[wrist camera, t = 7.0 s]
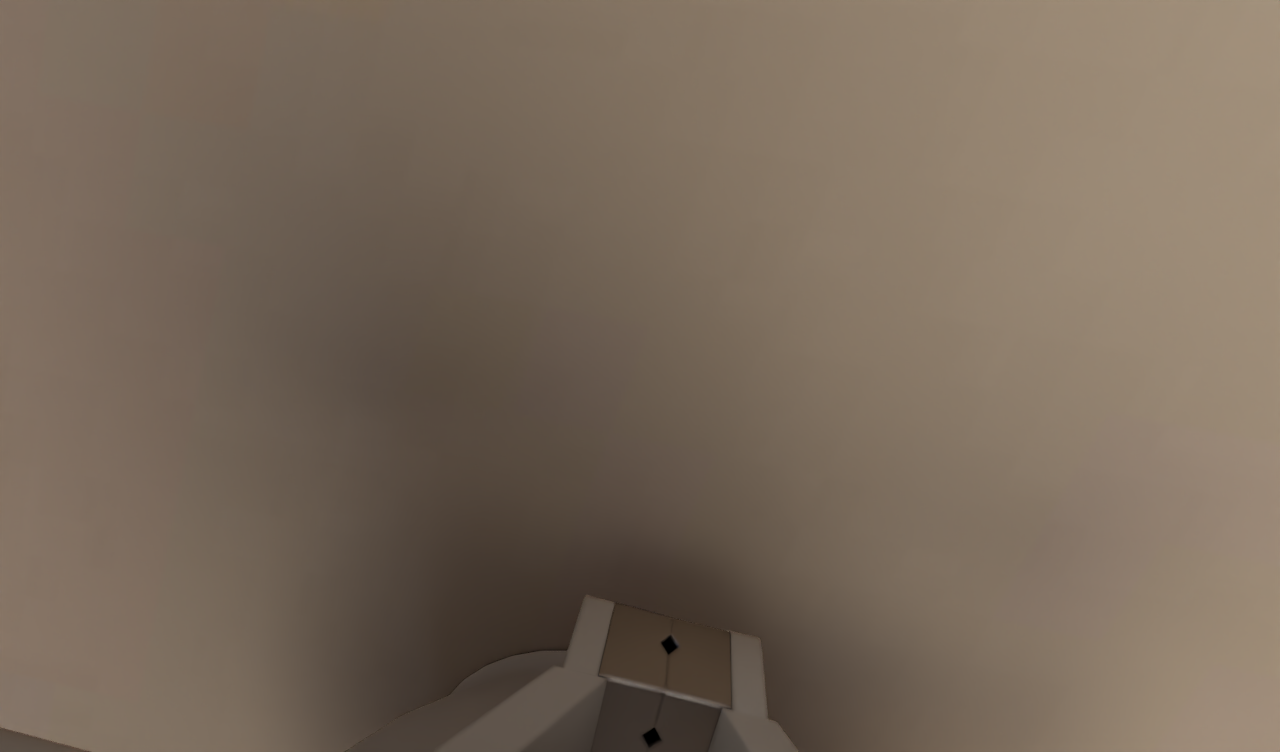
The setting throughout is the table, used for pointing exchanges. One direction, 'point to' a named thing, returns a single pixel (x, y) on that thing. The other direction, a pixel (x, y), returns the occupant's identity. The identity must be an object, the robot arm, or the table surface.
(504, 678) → the bowl
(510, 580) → the table surface
